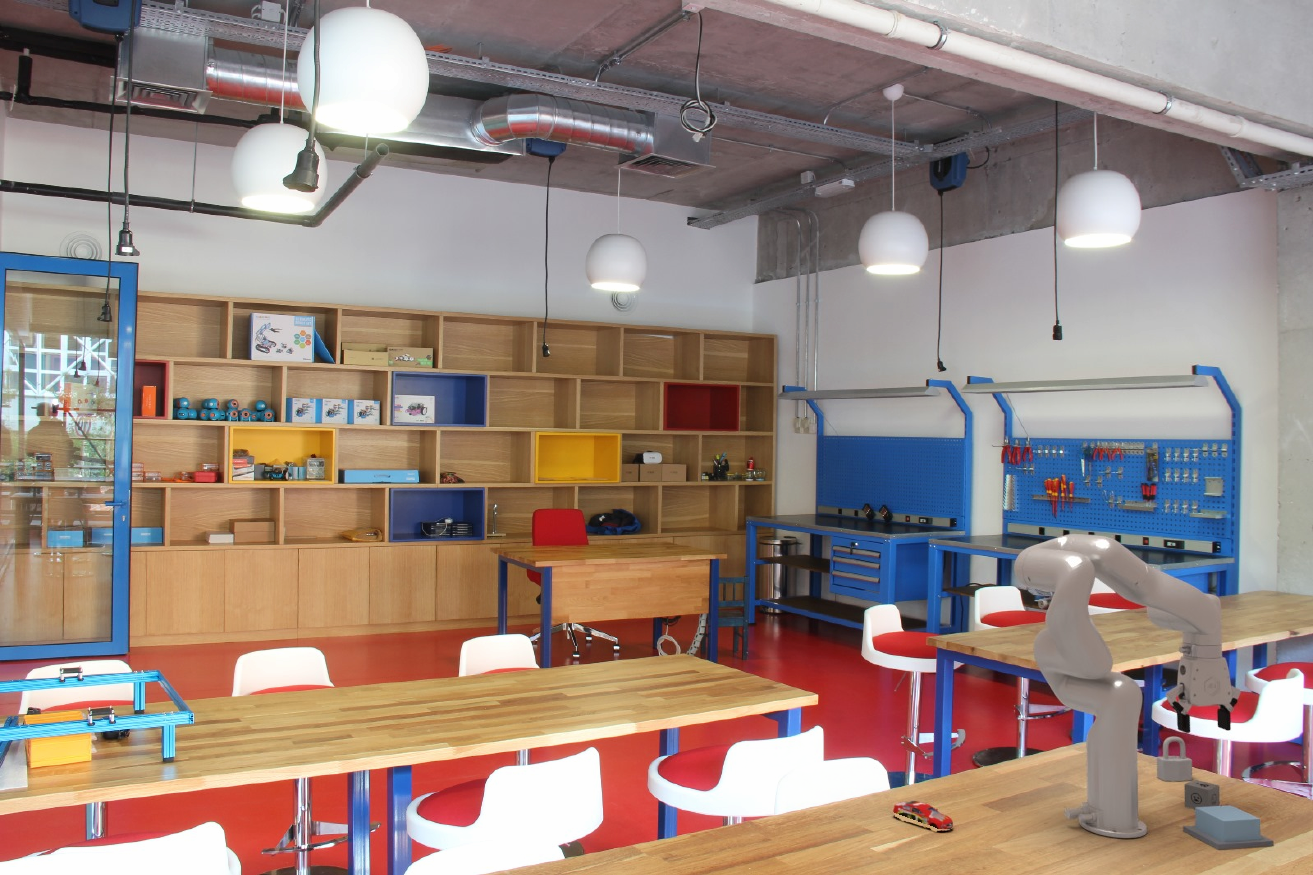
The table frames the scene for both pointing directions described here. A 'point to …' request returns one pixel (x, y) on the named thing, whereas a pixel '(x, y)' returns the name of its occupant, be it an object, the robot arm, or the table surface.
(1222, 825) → the base
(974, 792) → the table surface
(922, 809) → the race car
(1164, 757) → the padlock
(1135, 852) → the table surface
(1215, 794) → the dice cube
